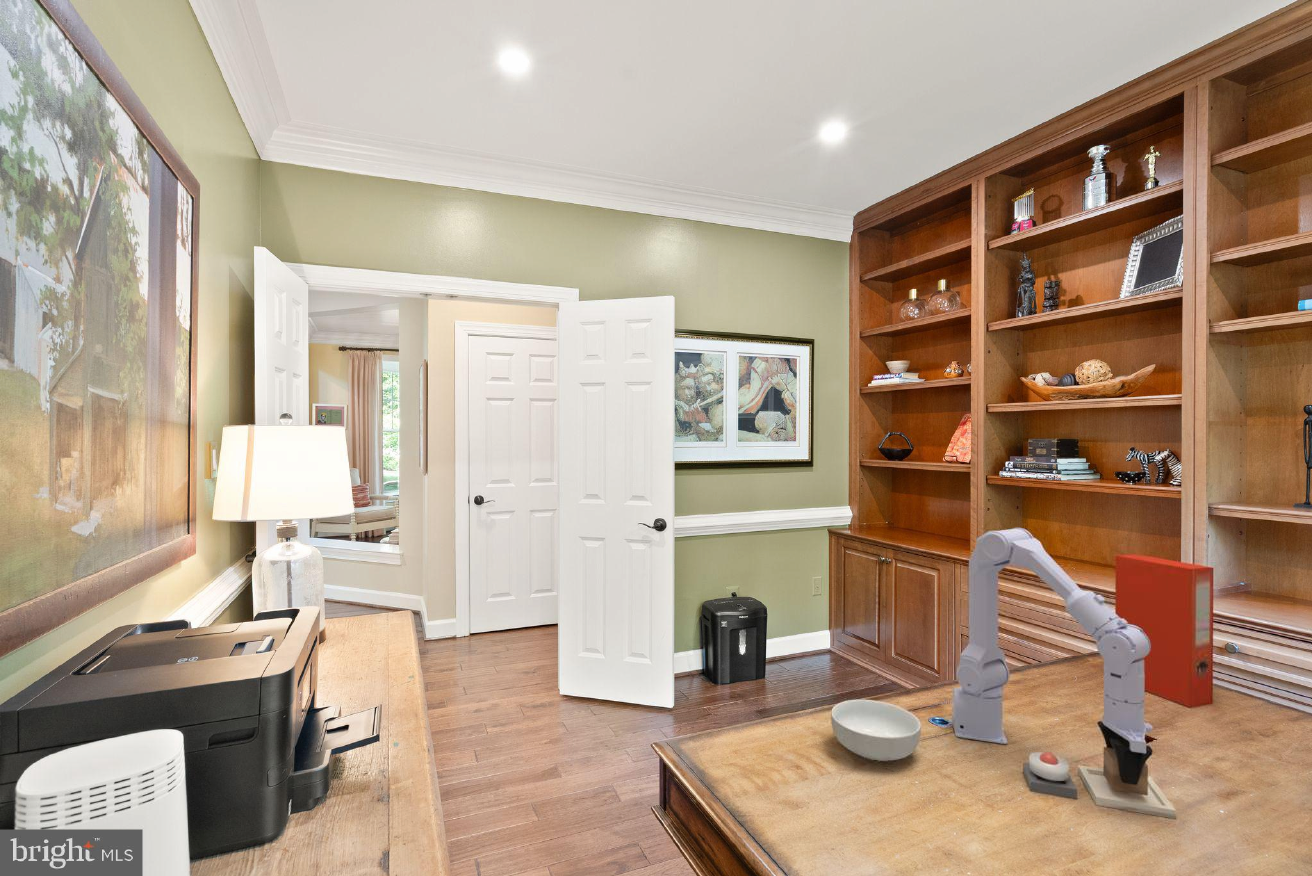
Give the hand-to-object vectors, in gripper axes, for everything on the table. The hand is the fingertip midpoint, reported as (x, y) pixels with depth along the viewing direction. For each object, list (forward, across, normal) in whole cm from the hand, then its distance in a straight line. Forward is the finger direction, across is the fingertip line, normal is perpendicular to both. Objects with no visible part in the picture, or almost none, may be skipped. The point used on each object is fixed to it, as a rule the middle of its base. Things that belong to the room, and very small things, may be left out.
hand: (1123, 774), depth 109 cm
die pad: (+3, 0, 0) cm, 3 cm away
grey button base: (+3, -1, +12) cm, 12 cm away
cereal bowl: (+4, 0, +41) cm, 41 cm away
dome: (+3, -1, +12) cm, 12 cm away
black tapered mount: (+4, +25, -8) cm, 27 cm away
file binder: (+4, +56, -24) cm, 61 cm away
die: (+2, 0, 0) cm, 2 cm away
